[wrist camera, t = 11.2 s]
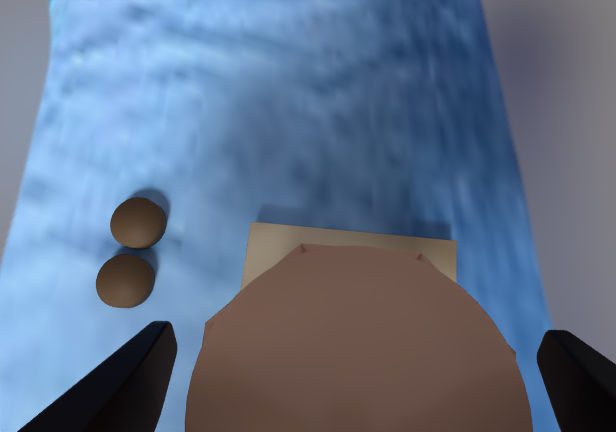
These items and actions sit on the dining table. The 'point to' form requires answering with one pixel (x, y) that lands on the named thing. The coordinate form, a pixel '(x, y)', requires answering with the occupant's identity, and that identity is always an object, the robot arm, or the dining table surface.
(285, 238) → the birch board
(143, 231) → the ball
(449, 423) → the salmon domed prism
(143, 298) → the ball
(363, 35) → the dining table surface
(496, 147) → the dining table surface
